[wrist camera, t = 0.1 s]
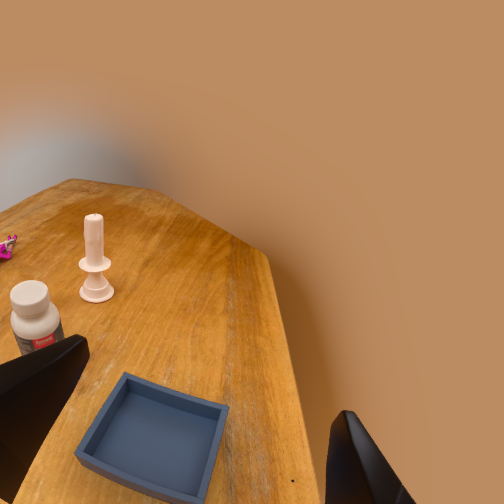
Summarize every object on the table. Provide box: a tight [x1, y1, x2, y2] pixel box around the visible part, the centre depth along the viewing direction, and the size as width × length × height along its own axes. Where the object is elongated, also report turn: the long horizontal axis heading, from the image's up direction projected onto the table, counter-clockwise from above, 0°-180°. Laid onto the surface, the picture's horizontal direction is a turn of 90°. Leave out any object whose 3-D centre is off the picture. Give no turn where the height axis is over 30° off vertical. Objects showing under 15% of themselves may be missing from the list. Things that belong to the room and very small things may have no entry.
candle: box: [79, 213, 114, 303], centre depth 34 cm, size 5×5×12 cm
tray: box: [74, 372, 229, 504], centre depth 19 cm, size 10×10×3 cm
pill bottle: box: [10, 280, 65, 356], centre depth 21 cm, size 5×5×10 cm
